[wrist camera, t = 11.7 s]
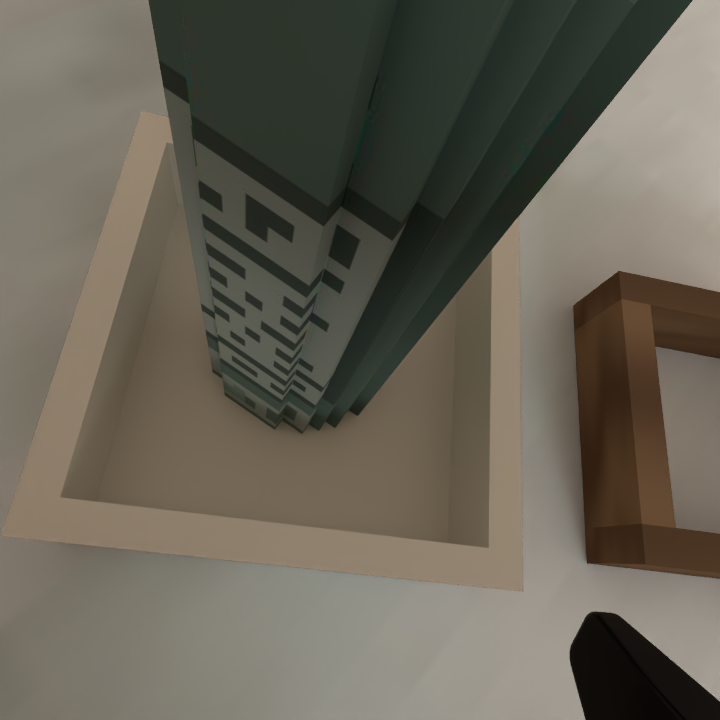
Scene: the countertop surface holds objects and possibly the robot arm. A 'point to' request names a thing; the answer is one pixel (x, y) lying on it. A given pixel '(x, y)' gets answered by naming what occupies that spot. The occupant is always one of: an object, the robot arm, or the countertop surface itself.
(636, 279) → the holder
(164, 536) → the bin
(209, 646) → the countertop surface
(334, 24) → the can
